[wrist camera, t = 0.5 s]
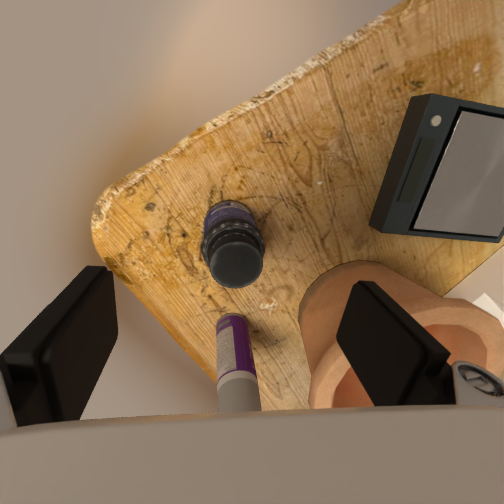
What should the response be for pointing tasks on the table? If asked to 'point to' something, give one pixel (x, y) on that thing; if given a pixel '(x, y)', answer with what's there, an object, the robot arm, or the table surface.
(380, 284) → the pottery
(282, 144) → the table surface
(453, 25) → the table surface
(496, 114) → the scale
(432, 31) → the table surface
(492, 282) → the block with arch cutout
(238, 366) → the container
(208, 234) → the pill bottle
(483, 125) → the scale pan
